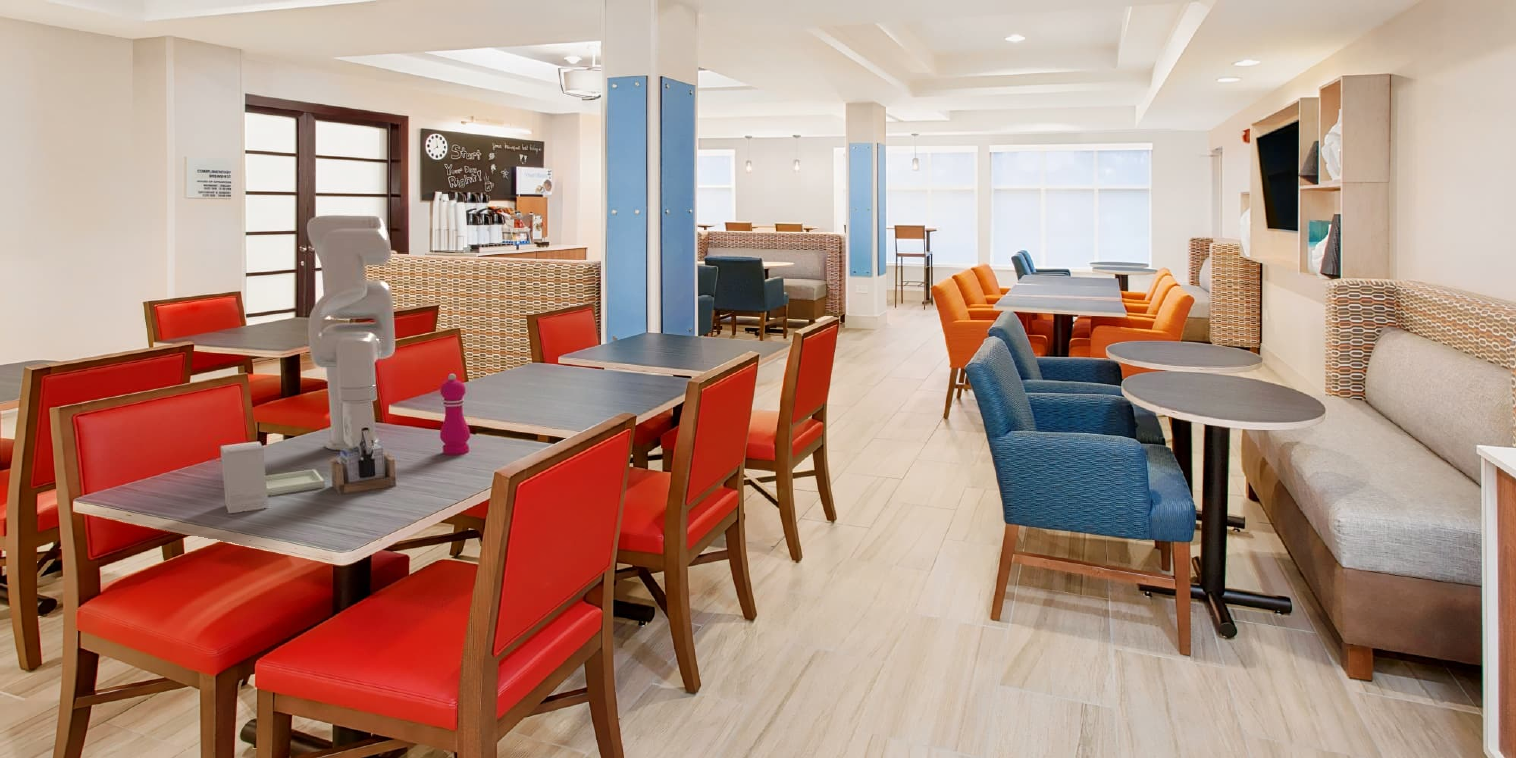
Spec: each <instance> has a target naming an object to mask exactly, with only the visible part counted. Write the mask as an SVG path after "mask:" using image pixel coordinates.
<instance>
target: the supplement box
mask: <svg viewBox="0 0 1516 758" xmlns="http://www.w3.org/2000/svg"><path fill="white" fill-rule="evenodd" d="M220 458H221V459H220V461H221V467H222V468H221V471H222V480H223V489H224V490H223V492H224V499H225V507H226V509H227V513H228V514H234V513H243V511H244V512H248V511H249V512H250V511H257V510H263V509H264V508H265V509H268V508H269V498H268V497H269V496H268V494H267V483H266V476H267V475H266V464H265V463H266V462H265V451H264V447H263V445H262V443H261V441H251V442H241V443H235V444H226V445H220Z"/></svg>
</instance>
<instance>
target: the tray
mask: <svg viewBox="0 0 1516 758" xmlns="http://www.w3.org/2000/svg"><path fill="white" fill-rule="evenodd" d="M266 483H267V494H268V497H270V496H276V495H282V494H289V493H296V492H302V491H310V490H317V489H324V488H326V484H325V480H324V478H323V477H322V476H321V475H320V474H319V472H318V471H317V470H316V468H314V469H307V470H297V471H292V472H291V471H290V472H284V473H277V474H269V475H266ZM269 495H270V496H269Z"/></svg>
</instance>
